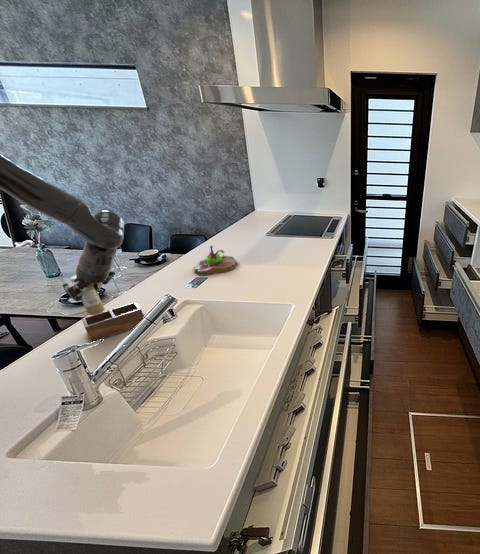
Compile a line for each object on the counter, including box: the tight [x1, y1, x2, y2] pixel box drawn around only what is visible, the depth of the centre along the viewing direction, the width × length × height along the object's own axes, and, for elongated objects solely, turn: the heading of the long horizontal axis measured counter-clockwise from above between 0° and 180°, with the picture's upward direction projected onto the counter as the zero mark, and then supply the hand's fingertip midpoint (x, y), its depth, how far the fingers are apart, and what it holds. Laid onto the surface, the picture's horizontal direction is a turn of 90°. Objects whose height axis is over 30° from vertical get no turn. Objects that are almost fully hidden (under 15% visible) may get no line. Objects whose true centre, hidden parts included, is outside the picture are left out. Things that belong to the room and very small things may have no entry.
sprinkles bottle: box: [70, 274, 106, 316], centre depth 99 cm, size 5×5×14 cm
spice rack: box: [81, 301, 145, 343], centre depth 106 cm, size 8×15×6 cm, turn 137°
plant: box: [193, 245, 238, 276], centre depth 156 cm, size 20×20×11 cm
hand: (84, 295), depth 100 cm, fingers closed on sprinkles bottle, 4 cm apart
